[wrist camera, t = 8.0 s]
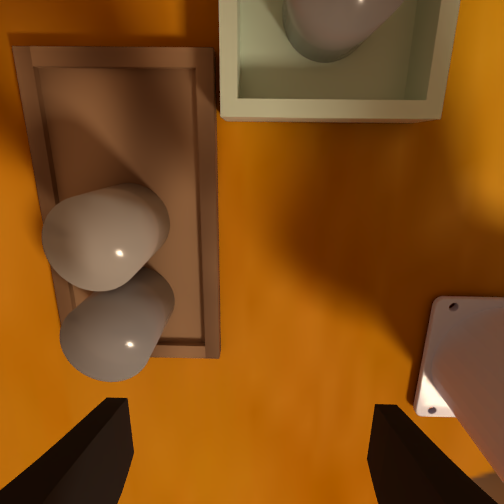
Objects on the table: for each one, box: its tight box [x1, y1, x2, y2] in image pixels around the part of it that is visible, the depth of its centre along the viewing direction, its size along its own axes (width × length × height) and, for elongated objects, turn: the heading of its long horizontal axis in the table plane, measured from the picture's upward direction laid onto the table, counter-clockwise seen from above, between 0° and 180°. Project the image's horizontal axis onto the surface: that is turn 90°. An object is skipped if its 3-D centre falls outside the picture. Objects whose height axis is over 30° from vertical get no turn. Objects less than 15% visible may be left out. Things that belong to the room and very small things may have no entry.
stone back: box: [60, 267, 175, 382], centre depth 17 cm, size 4×4×4 cm
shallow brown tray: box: [12, 46, 221, 359], centre depth 18 cm, size 9×16×1 cm, turn 179°
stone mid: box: [42, 183, 170, 291], centre depth 16 cm, size 4×4×4 cm
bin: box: [219, 0, 460, 123], centre depth 14 cm, size 9×9×3 cm
